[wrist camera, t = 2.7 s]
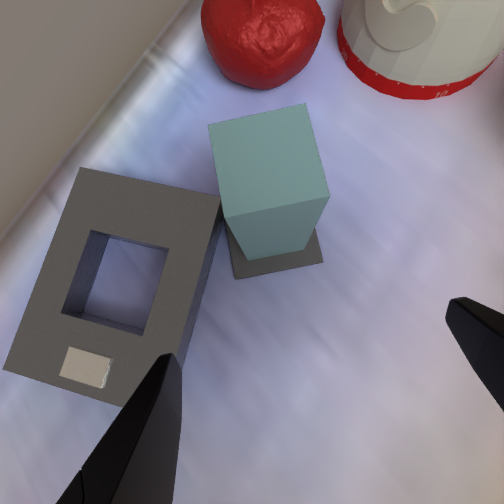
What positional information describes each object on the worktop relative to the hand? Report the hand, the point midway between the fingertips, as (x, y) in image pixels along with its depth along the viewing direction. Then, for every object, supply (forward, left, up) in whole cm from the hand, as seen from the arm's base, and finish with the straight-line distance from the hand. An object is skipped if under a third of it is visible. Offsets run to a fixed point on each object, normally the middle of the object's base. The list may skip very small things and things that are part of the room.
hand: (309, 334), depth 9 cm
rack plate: (+13, 0, -13) cm, 19 cm away
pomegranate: (+8, -23, -13) cm, 27 cm away
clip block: (+3, -7, -13) cm, 15 cm away
